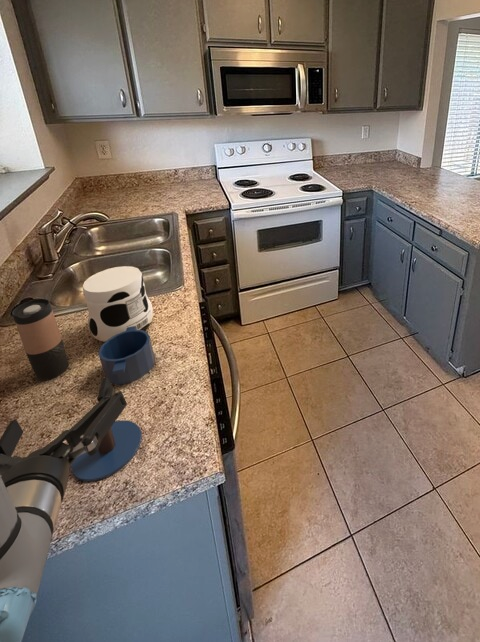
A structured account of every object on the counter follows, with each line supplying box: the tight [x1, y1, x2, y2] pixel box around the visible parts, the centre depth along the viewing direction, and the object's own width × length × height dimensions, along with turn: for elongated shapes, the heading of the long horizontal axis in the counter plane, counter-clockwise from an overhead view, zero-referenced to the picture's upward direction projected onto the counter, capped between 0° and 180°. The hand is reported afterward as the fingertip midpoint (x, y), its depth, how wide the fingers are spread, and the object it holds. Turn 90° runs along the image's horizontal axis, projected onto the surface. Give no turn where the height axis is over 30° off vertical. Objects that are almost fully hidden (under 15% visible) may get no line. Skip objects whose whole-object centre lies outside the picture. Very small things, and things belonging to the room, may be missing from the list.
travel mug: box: [11, 298, 69, 382], centre depth 92 cm, size 8×8×20 cm
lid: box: [70, 420, 142, 482], centre depth 72 cm, size 13×13×9 cm
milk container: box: [82, 265, 154, 343], centre depth 108 cm, size 17×17×18 cm
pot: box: [97, 326, 156, 386], centre depth 94 cm, size 12×17×8 cm
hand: (64, 404), depth 61 cm, fingers open, 13 cm apart
